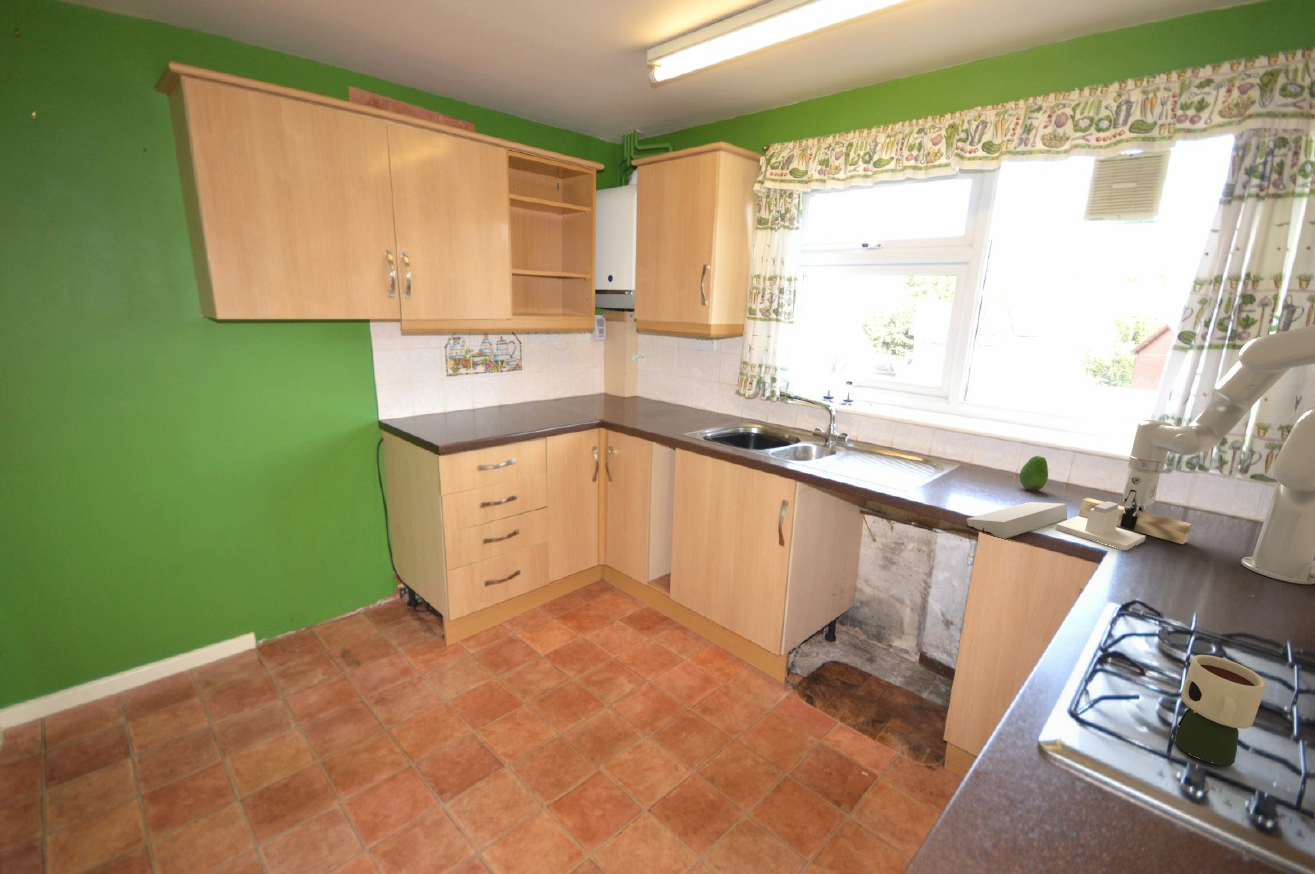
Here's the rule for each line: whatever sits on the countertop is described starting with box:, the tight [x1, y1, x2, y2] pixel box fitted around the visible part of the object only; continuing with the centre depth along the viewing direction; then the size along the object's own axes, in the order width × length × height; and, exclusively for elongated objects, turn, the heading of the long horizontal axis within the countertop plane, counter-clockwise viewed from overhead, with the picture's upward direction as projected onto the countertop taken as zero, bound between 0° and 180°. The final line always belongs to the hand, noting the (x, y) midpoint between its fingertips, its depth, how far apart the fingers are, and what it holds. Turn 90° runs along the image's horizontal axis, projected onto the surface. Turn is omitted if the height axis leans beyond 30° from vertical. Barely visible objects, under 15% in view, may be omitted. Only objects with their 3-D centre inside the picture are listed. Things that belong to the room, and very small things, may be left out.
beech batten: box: [1078, 497, 1192, 545], centre depth 163 cm, size 24×4×5 cm, turn 35°
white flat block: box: [966, 501, 1068, 540], centre depth 164 cm, size 34×5×10 cm
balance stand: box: [1054, 500, 1147, 552], centre depth 156 cm, size 16×14×9 cm
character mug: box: [1174, 654, 1267, 767], centre depth 77 cm, size 11×7×13 cm, turn 143°
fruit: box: [1019, 455, 1049, 492], centre depth 193 cm, size 8×8×12 cm
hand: (1130, 525), depth 163 cm, fingers closed on beech batten, 4 cm apart
